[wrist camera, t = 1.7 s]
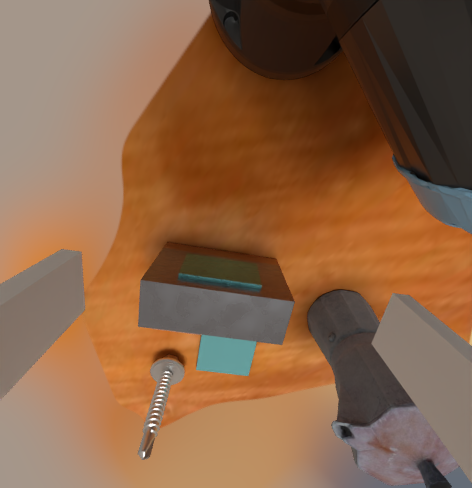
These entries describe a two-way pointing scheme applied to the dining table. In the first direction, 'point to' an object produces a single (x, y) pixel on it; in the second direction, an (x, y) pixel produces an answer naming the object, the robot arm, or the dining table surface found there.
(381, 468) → the moka pot
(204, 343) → the teal pad
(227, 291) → the grey unit
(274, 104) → the dining table surface
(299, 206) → the dining table surface
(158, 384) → the screw
